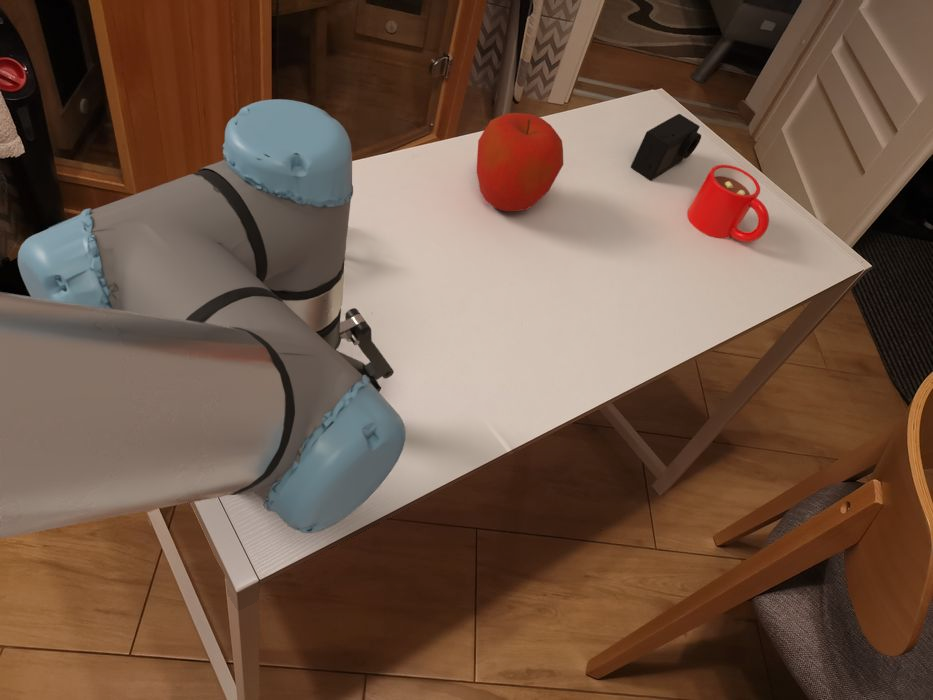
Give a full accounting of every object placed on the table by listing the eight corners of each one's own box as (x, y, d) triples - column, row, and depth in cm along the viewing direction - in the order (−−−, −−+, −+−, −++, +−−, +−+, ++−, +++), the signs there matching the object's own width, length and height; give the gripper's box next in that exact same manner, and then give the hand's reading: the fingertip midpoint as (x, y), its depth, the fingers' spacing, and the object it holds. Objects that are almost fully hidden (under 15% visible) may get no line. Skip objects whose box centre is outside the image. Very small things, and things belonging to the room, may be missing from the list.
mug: (738, 261, 102) (765, 220, 97) (677, 213, 107) (700, 172, 101) (765, 244, 107) (793, 204, 101) (705, 199, 111) (729, 158, 105)
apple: (507, 242, 95) (535, 157, 84) (447, 195, 99) (466, 108, 88) (561, 211, 101) (593, 128, 91) (502, 168, 106) (526, 84, 95)
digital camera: (656, 185, 111) (674, 148, 106) (629, 167, 113) (646, 130, 108) (687, 165, 117) (706, 129, 112) (662, 148, 119) (679, 112, 113)
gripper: (404, 229, 59) (381, 374, 76) (99, 321, 47) (148, 471, 63) (452, 286, 56) (417, 425, 72) (137, 401, 44) (179, 538, 60)
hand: (291, 447), depth 68 cm, fingers open, 13 cm apart
